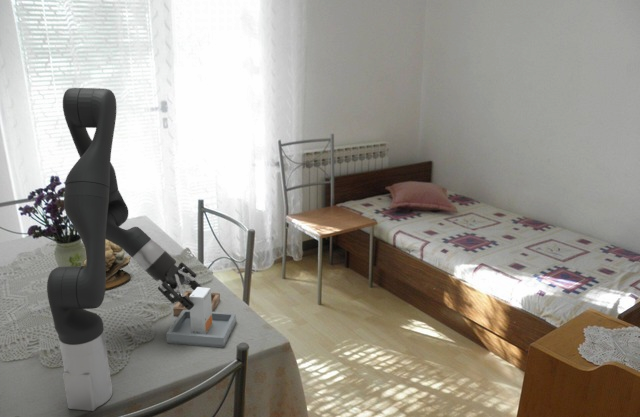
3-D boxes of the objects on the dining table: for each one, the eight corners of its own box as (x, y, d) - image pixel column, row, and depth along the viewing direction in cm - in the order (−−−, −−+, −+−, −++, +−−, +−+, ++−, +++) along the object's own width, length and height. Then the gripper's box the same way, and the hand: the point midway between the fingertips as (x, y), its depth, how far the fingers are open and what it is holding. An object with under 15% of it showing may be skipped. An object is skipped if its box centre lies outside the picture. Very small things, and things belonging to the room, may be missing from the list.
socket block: (209, 318, 156) (208, 311, 155) (173, 315, 157) (173, 308, 156) (220, 300, 166) (219, 293, 166) (186, 298, 167) (186, 291, 167)
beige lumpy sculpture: (126, 269, 186) (121, 225, 181) (138, 282, 178) (134, 236, 172) (72, 283, 176) (66, 236, 170) (83, 297, 167) (76, 248, 161)
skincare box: (205, 336, 146) (202, 298, 142) (190, 334, 146) (188, 296, 142) (213, 324, 151) (211, 287, 147) (199, 323, 152) (196, 286, 148)
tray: (223, 347, 142) (223, 338, 141) (167, 343, 144) (166, 333, 143) (236, 322, 154) (235, 313, 153) (183, 318, 156) (183, 309, 155)
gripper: (151, 262, 135) (197, 304, 138) (172, 241, 148) (214, 280, 151) (134, 279, 137) (179, 321, 140) (156, 257, 151) (197, 295, 153)
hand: (197, 300), depth 145 cm, fingers open, 8 cm apart
